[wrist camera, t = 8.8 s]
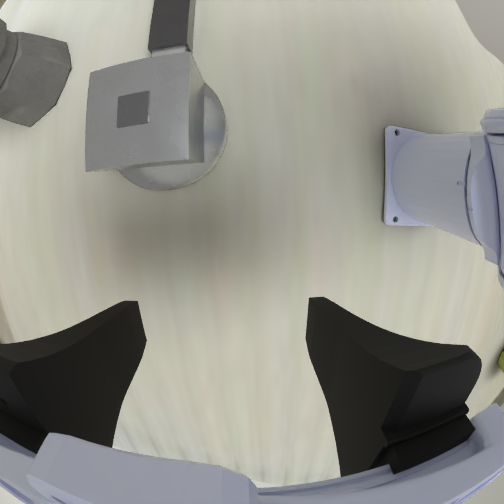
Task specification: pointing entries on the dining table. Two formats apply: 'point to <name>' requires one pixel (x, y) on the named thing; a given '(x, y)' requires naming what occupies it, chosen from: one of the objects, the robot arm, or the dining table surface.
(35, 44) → the coffeepot
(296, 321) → the dining table surface
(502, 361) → the plant pot
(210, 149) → the ratchet
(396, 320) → the dining table surface
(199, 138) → the grey cube
